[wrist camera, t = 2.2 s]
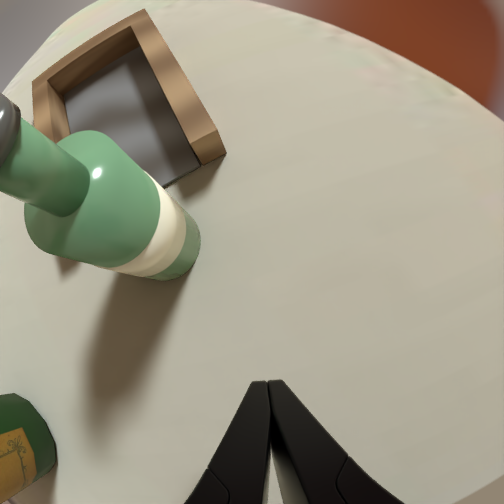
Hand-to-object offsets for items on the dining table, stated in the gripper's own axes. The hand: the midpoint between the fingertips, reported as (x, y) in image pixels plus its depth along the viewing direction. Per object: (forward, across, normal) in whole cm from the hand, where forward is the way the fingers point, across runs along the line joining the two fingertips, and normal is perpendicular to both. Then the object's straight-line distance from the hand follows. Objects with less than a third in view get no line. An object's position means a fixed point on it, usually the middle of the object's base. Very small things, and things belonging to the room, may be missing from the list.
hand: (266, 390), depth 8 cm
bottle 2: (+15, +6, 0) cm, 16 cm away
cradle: (+22, +12, -10) cm, 27 cm away
